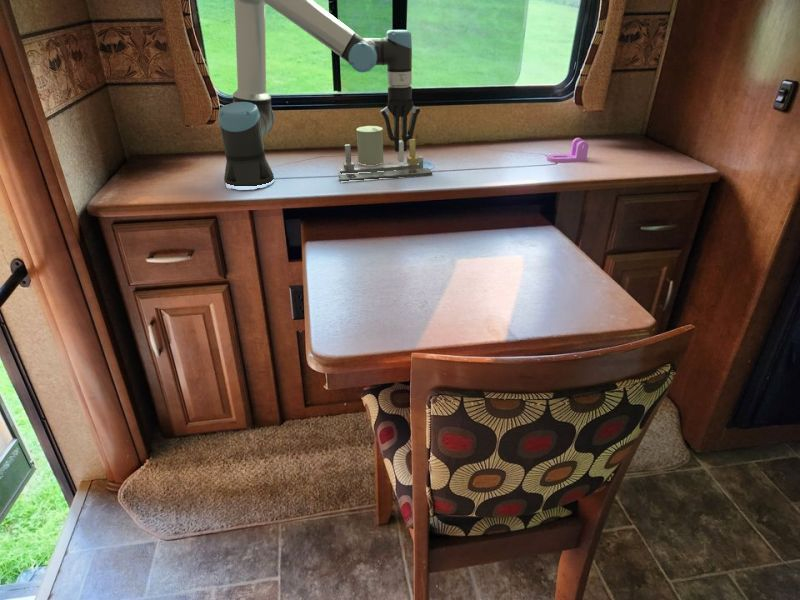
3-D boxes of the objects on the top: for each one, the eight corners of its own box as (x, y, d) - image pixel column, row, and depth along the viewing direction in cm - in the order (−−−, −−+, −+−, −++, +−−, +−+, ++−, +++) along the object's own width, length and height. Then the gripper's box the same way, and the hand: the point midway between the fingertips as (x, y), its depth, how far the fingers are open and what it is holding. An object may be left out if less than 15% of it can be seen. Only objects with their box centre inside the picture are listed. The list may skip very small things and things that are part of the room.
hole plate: (340, 182, 164) (340, 179, 163) (338, 178, 168) (338, 174, 167) (432, 175, 169) (432, 172, 169) (428, 170, 173) (428, 167, 173)
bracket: (579, 157, 186) (582, 137, 182) (585, 161, 181) (589, 141, 178) (544, 158, 185) (547, 138, 181) (549, 163, 180) (552, 142, 177)
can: (372, 167, 178) (371, 131, 171) (352, 163, 182) (350, 128, 176) (389, 161, 184) (388, 126, 178) (369, 157, 189) (367, 123, 183)
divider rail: (340, 175, 170) (338, 146, 165) (339, 172, 173) (337, 144, 168) (423, 168, 175) (423, 140, 171) (420, 166, 178) (421, 138, 173)
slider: (409, 165, 174) (409, 140, 170) (407, 162, 176) (407, 138, 172) (417, 164, 174) (418, 140, 170) (415, 161, 177) (415, 138, 173)
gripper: (381, 88, 157) (383, 165, 169) (423, 86, 160) (422, 162, 172) (377, 84, 164) (379, 159, 176) (416, 83, 166) (416, 156, 178)
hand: (400, 161), depth 174 cm, fingers closed
